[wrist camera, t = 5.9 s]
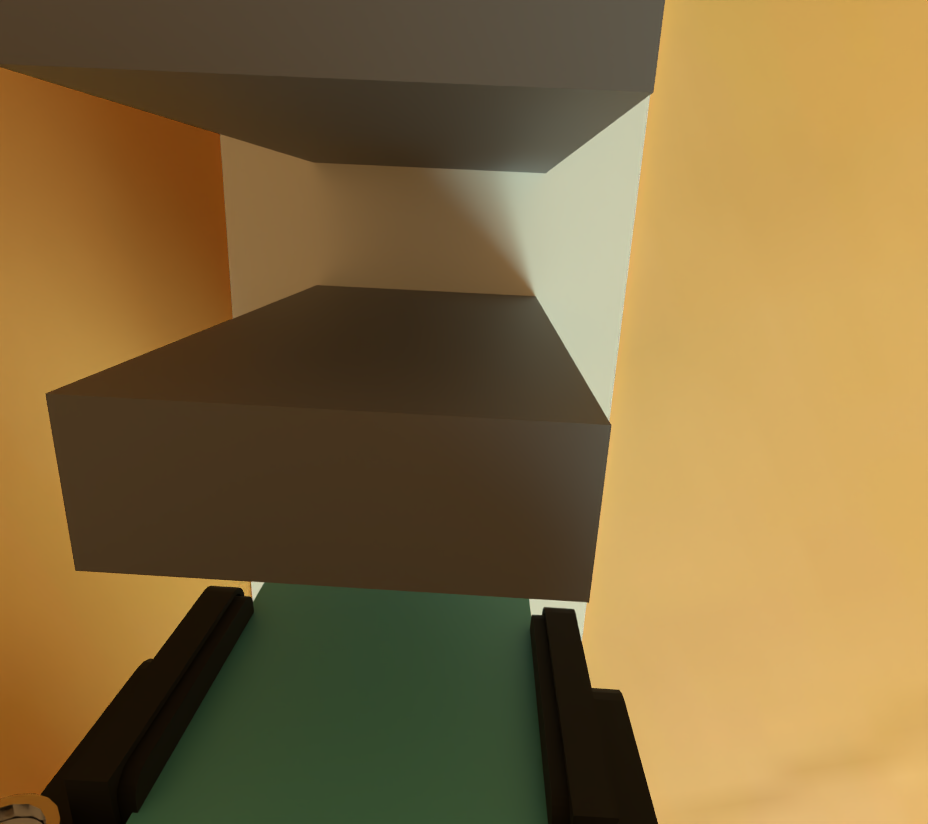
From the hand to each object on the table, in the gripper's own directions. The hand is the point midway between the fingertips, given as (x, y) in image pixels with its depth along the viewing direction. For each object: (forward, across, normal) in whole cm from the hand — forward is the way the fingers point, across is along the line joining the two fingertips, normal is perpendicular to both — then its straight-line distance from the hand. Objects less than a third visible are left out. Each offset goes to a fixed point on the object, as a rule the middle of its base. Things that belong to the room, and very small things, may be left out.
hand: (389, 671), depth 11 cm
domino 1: (+5, 0, -5) cm, 7 cm away
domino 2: (+5, 0, -10) cm, 11 cm away
